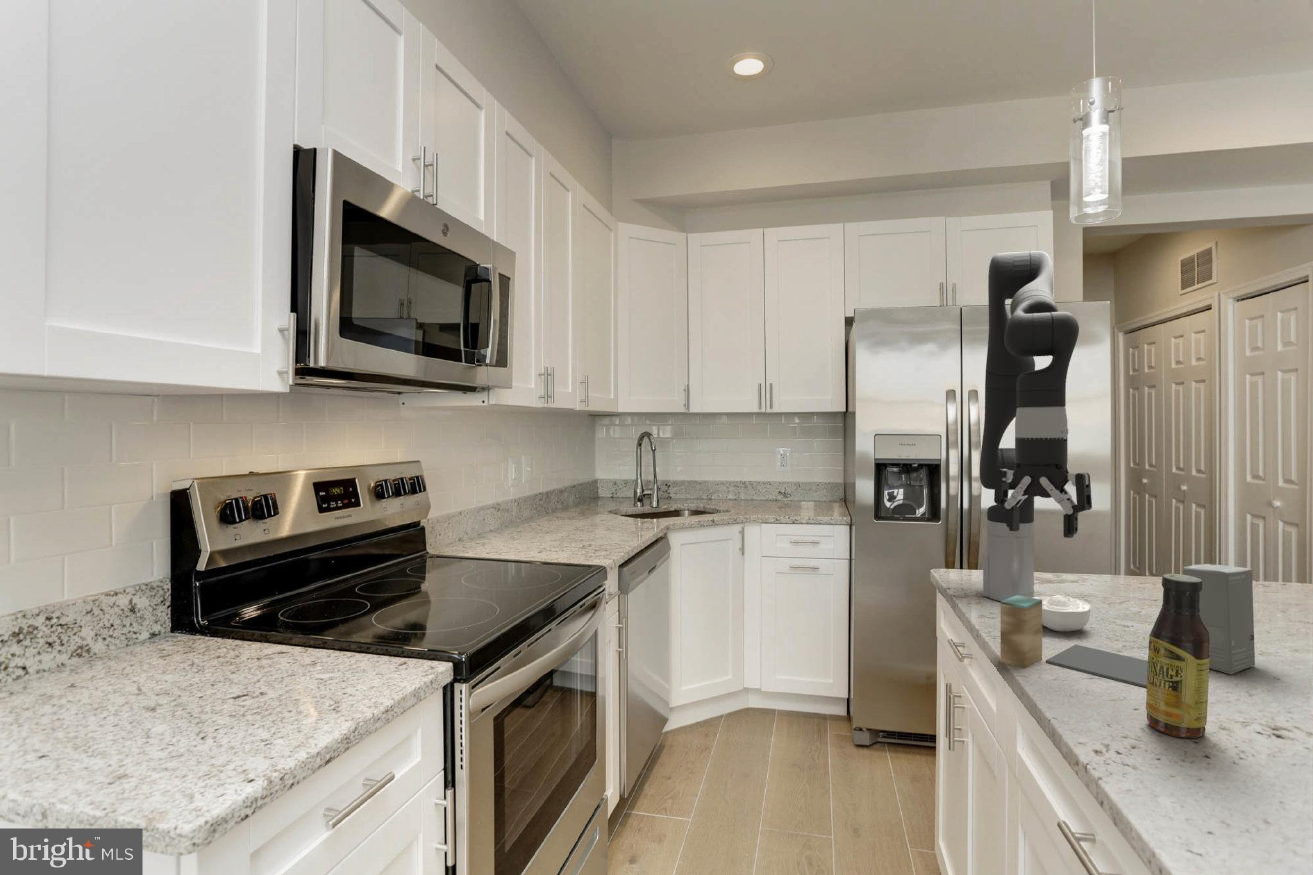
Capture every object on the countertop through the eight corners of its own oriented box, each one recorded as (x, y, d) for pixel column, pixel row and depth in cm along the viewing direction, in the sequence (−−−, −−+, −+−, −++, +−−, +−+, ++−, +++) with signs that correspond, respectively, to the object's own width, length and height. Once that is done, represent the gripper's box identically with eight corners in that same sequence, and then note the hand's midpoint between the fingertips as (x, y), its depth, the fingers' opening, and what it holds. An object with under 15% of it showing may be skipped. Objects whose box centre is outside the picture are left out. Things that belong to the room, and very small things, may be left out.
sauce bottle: (1134, 720, 91) (1134, 571, 90) (1178, 718, 91) (1179, 569, 91) (1175, 743, 84) (1176, 582, 84) (1222, 740, 85) (1224, 581, 84)
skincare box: (1231, 676, 106) (1232, 573, 105) (1179, 661, 112) (1179, 565, 112) (1258, 666, 110) (1259, 567, 109) (1205, 653, 116) (1206, 559, 116)
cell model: (1098, 626, 131) (1098, 591, 131) (1083, 642, 122) (1083, 604, 122) (1038, 616, 138) (1039, 583, 138) (1021, 630, 129) (1021, 595, 129)
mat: (1045, 662, 112) (1045, 660, 112) (1075, 646, 120) (1075, 644, 120) (1163, 692, 100) (1163, 689, 100) (1188, 672, 107) (1188, 669, 107)
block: (1000, 661, 113) (1000, 601, 113) (1017, 653, 117) (1017, 595, 117) (1025, 668, 110) (1025, 606, 110) (1042, 659, 114) (1042, 599, 114)
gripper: (986, 435, 116) (986, 531, 116) (1078, 435, 105) (1078, 542, 105) (1008, 434, 120) (1008, 527, 121) (1098, 435, 109) (1098, 537, 109)
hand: (1040, 534), depth 113 cm, fingers open, 8 cm apart
